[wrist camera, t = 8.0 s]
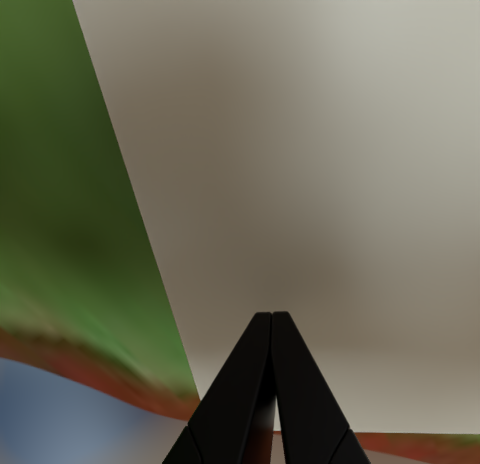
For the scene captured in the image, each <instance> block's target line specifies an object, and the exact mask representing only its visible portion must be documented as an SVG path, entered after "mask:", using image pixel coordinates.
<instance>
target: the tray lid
mask: <svg viewBox="0 0 480 464" xmlns="http://www.w3.org/2000/svg"><path fill="white" fill-rule="evenodd" d="M72 1H73V4H74V7H75V10H76V13H77V16H78V19H79V23H80V26H81V29H82V32H83V35H84V38H85V41H86V44H87V48H88V51H89V54H90V57H91V60H92V63H93V66H94V69H95V72H96V76H97V79H98V82H99V85H100V88H101V91H102V94H103V97H104V100H105V104H106V107H107V110H108V113H109V116H110V119H111V122H112V125H113V129H114V132H115V135H116V138H117V141H118V144H119V147H120V150H121V153H122V157H123V160H124V163H125V166H126V169H127V172H128V175H129V178H130V182H131V185H132V188H133V191H134V194H135V197H136V200H137V203H138V206H139V210H140V213H141V216H142V219H143V222H144V225H145V228H146V231H147V234H148V238H149V241H150V244H151V247H152V250H153V253H154V256H155V259H156V263H157V266H158V269H159V272H160V275H161V278H162V281H163V284H164V287H165V291H166V294H167V297H168V300H169V303H170V306H171V309H172V312H173V315H174V319H175V322H176V325H177V328H178V331H179V334H180V337H181V340H182V344H183V347H184V350H185V353H186V356H187V359H188V362H189V365H190V368H191V372H192V375H193V378H194V381H195V384H196V387H197V390H198V393H199V396H200V400H202V399H203V397H204V395H205V394H206V392H207V390H208V389H209V387H210V386H211V384H212V382H213V381H214V379H215V377H216V376H217V374H218V373H219V371H220V369H221V368H222V366H223V364H224V363H225V361H226V360H227V358H228V356H229V355H230V353H231V351H232V350H233V348H234V347H235V345H236V343H237V342H238V340H239V338H240V337H241V335H242V333H243V332H244V330H245V329H246V327H247V325H248V324H249V322H250V320H251V319H252V317H253V316H254V314H255V313H256V312H271V313H273V312H274V311H288V312H289V313H290V315H291V317H292V319H293V321H294V322H295V324H296V326H297V328H298V330H299V332H300V334H301V335H302V337H303V339H304V341H305V343H306V345H307V347H308V349H309V350H310V352H311V354H312V356H313V358H314V360H315V362H316V363H317V365H318V367H319V369H320V371H321V373H322V375H323V376H324V378H325V380H326V382H327V384H328V386H329V388H330V389H331V391H332V393H333V395H334V397H335V399H336V401H337V403H338V404H339V406H340V408H341V410H342V412H343V414H344V416H345V417H346V419H347V421H348V423H349V425H350V429H352V430H353V432H386V433H445V434H480V0H72ZM273 431H281V428H280V421H279V414H278V407H277V399H276V409H275V420H274V430H273Z"/></svg>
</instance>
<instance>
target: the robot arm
mask: <svg viewBox="0 0 480 464" xmlns="http://www.w3.org/2000/svg"><path fill="white" fill-rule="evenodd" d="M276 399H277V407H278V414H279V421H280V428H281V435H282V442H283V449H284V456H285V463H286V464H371V462H370V461H369V459H368V457H367V455H366V454H365V452H364V450H363V448H362V447H361V445H360V443H359V441H358V439H357V437H356V436H355V434H354V432H353V430H352V429H350V425H349V423H348V421H347V419H346V417H345V416H344V414H343V412H342V410H341V408H340V406H339V404H338V403H337V401H336V399H335V397H334V395H333V393H332V391H331V389H330V388H329V386H328V384H327V382H326V380H325V378H324V376H323V375H322V373H321V371H320V369H319V367H318V365H317V363H316V362H315V360H314V358H313V356H312V354H311V352H310V350H309V349H308V347H307V345H306V343H305V341H304V339H303V337H302V335H301V334H300V332H299V330H298V328H297V326H296V324H295V322H294V321H293V319H292V317H291V315H290V313H289V312H288V311H274V312H273V313H271V312H256V313H255V314H254V316H253V317H252V319H251V320H250V322H249V324H248V325H247V327H246V329H245V330H244V332H243V333H242V335H241V337H240V338H239V340H238V342H237V343H236V345H235V347H234V348H233V350H232V351H231V353H230V355H229V356H228V358H227V360H226V361H225V363H224V364H223V366H222V368H221V369H220V371H219V373H218V374H217V376H216V377H215V379H214V381H213V382H212V384H211V386H210V387H209V389H208V390H207V392H206V394H205V395H204V397H203V399H202V400H201V402H200V404H199V405H198V407H197V408H196V410H195V412H194V413H193V415H192V417H191V418H190V420H189V421H188V426H185V428H184V429H183V431H182V433H181V434H180V436H179V438H178V439H177V441H176V442H175V444H174V445H173V447H172V449H171V450H170V452H169V453H168V455H167V456H166V458H165V459H164V461H163V462H162V464H270V461H271V450H272V440H273V430H274V420H275V409H276Z"/></svg>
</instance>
